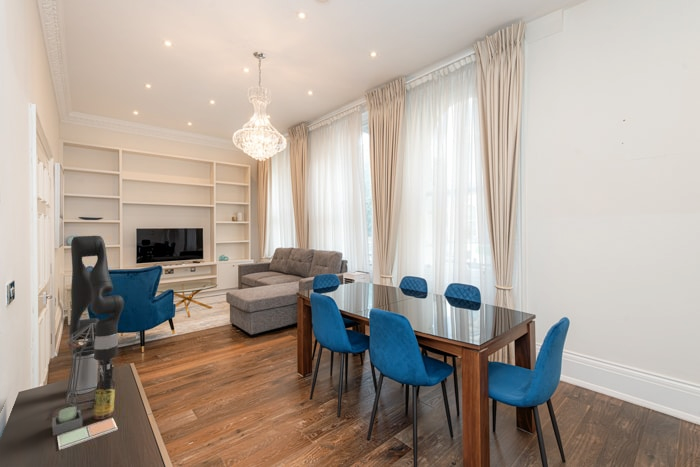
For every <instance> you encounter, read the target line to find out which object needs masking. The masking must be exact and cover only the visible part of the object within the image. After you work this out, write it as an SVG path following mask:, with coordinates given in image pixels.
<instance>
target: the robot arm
mask: <svg viewBox="0 0 700 467" xmlns="http://www.w3.org/2000/svg"><path fill="white" fill-rule="evenodd" d="M70 243H71V244H70V250H71V251H70V252H71V266H72V268H71V270H72V271H71V286H70V289H71V290H70V294H71V295H70V297H71V300H70V301H71V311H70V313H71V314H70V321H69V322H70V323H69V335H70V336H69V339H70V338H71V334H72V333H74V332H75V333H76V331H77V332H78V330H79V329H81V328H83V327H85V326H87V325H88V324H90V323H96V329H95V328H94V326H93V333H96V334H94V339H95V341H94V342H93V344H94V347H92V348H87V349H84V348H83V347H81V346H78V345H77V346H76V347H74V348H75V350H76V352H80V351H81V349H82V348H83V349H84V350H83V351H88V352H81V358H88V359H81V360H80V367H79V375H78V382H77V389H76V390H81V389H86V388H91V387H97V384H98V375H99V380H100V379H101V375H102V376H103V390H108V389H110V380H111V379H112V365H114V364H113V361H112V358H115V357H117V356H118V352H119V351H118V350H119V349H118V347H119V346H118V345H119V344H118V342H119V335H118V327H119V325H118V324H119V320H120V317H121V313H122V311H123V309H124V304H125V302H124V301H125V300H124V298H123V297H122V296H121V295H119V294H115V295H110V293H112V292H113V291H114V284H113V281H112V278H111V275H110V273H109V266H108V256H107V251H106V250H107V249H106V243H105V241H104V238H103V237H102V236H101V235H80V236H74V237H72V239H71V242H70ZM86 257H87V258H88V257H97V260H96V263H95V265H94V266H93V268H92V269H91V271H90V270H89V269H88V268H87V267H86V266H85V264H84V261H83V258H86ZM88 307H90V311H91V313H92V314H94V315H96V316H98V315H99V316H100V315H101V316H102V315H106V314H109V315H108V316H107V317H105V318H103V319H99V318H96V317H95V318H87V319H81V317H82V315H83V314H84V312H85V311H86V309H88ZM89 328H90V327H89ZM89 328H88V329H87V330H85V331H84V332H83V333H87V332H88V330H89ZM90 330H91V329H90ZM89 333H90V331H89ZM91 333H92V332H91ZM74 336H75V334H74V335H73V337H74ZM81 336H84V337H85V336H86V335H81ZM76 337H77V338H76ZM76 337H75V338H76V339H75V338H74V339H75V340H74V339H73V340H74V341H80V340H84V339H85V338H82V337H80V336H79V337H78V336H76ZM87 338H90V335H88V336H87ZM90 339H92V334H91V338H90ZM89 341H90V340H89ZM85 344H86V342H85ZM81 345H82V346H84V343H83V344H81ZM90 346H93V345H92V342H88V343H87V344H86V346H85V347H90ZM75 350H74V349H73V350H72V353H73V355H74V353H76V352H75ZM89 350H94V351H89ZM78 354H79V353H78ZM78 354H77V355H76V357H77V356H78ZM79 356H80V354H79ZM79 356H78V357H77V358H76V359H79ZM89 357H94V358H89ZM74 358H75V356H74ZM78 363H79V360H77V361H76V373H75V385H76V378H77V371H78ZM73 364H74V363H73ZM72 371H73V369H72ZM98 373H99V374H98ZM107 374H109V376H108V377H106V375H107ZM73 377H74V374H73ZM75 385H74V391H75ZM72 389H73V380H72V386H71V392H72ZM94 390H96V388H93V389H88V390H82V391H77V392H76V395H84V394H87V393H90V392H92V391H94ZM74 395H75V392H74Z"/></svg>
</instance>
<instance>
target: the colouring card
mask: <svg viewBox="0 0 700 467" xmlns="http://www.w3.org/2000/svg"><path fill="white" fill-rule="evenodd" d="M118 430H119V429H118V426H117V424H116V421H115V420H114V418H113V417H110V418H108V419H107V418H106V419H103V420H101V421H98V422H95V423H92V424H89V425H86V426H82V427H79V428H76V429H73V430H70V431H67V432H64V433H61V434H58V435H56V436H57V437H56V438H57V443H58V451H61V449H62V450H64V449H67V448H70V447H73V446H75V445H78V444H81V443H84V442H88V441H91V440H93V439H96V438H98V437H101V436H104V435H107V434H109V433H113V432H116V431H118Z"/></svg>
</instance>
